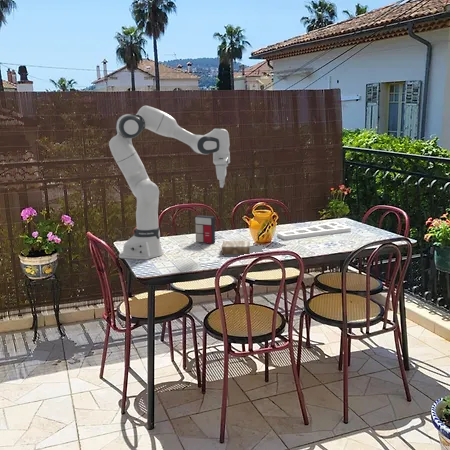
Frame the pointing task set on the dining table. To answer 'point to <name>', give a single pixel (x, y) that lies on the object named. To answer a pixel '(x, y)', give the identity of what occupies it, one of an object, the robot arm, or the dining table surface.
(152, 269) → the dining table surface
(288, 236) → the holder
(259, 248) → the mat
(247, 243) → the tall block
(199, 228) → the grey and red box
